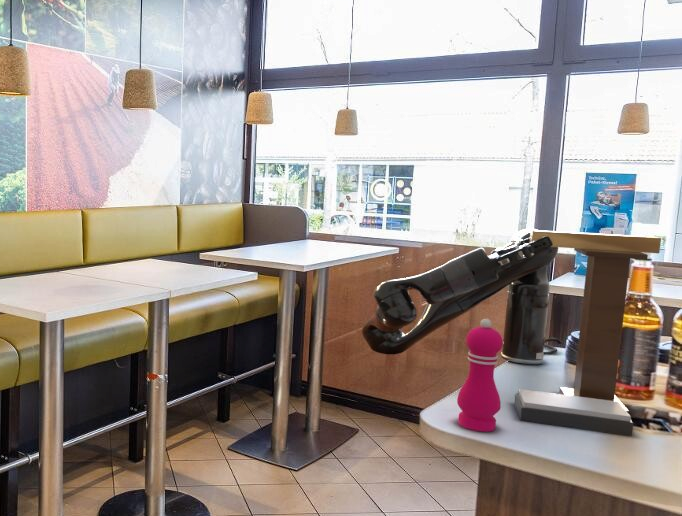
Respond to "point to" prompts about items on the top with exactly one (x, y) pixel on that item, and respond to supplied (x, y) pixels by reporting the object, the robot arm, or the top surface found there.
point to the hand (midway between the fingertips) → (547, 238)
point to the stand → (601, 323)
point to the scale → (573, 412)
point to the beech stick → (600, 241)
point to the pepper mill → (480, 380)
